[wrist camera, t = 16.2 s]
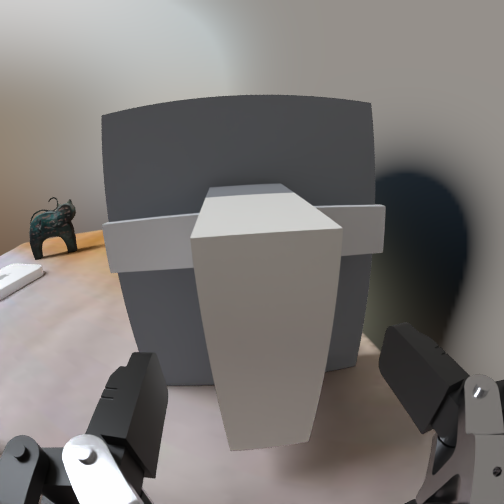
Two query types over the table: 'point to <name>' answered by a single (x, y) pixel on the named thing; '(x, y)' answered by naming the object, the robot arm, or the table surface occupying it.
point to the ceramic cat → (53, 228)
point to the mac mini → (17, 277)
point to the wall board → (231, 174)
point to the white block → (266, 308)
